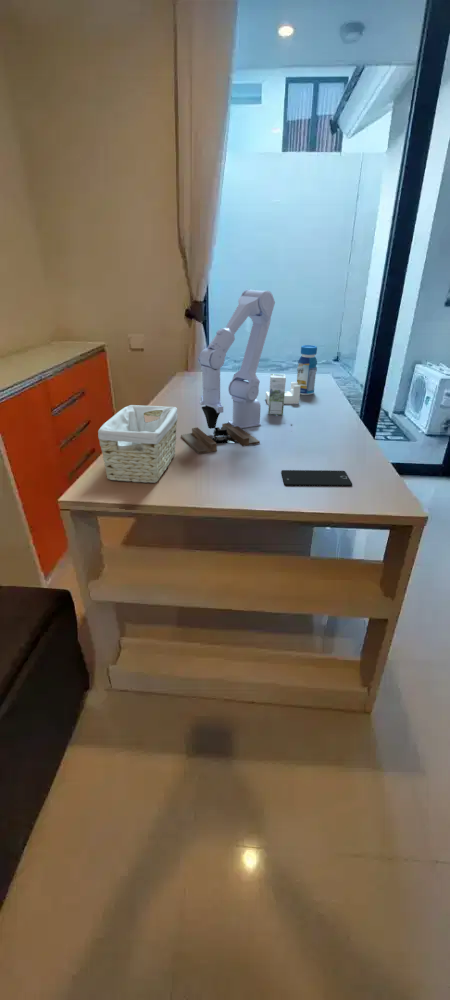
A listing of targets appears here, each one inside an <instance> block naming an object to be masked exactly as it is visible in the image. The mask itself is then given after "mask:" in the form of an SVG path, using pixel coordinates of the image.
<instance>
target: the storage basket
mask: <svg viewBox="0 0 450 1000" xmlns="http://www.w3.org/2000/svg"><path fill="white" fill-rule="evenodd" d="M145 416H146V417H149V416H151V417H159V418H158V419H154V420H151V421H146V419H145ZM178 419H179V418H178V408H177V407H176V406H161V405H138V404H137V405H136V404H130V405H127V406H125V407H123V408H122V409H120V410H118V411H117V412H116V413H115V414H114V415H113V416H112V417H110V418H109V419H108V420H107V421H106V422H103V424H102V425H101V426H100V428H99V429H98V431H97V433H98V435H97V436H98V437H97V438H98V440H99V446H100V450H101V454H102V458H103V462H104V468H105V473H106V477H105V478H107V479H108V480H111V481H117V482H118V481H119V482H133V483H143V484H144V483H145V484H146V483H153V484H154V483H157V482H158V481H159V480H160V478H161V477H162V475H163V473H164V472H165V471H166V470H167V468H168V467H169V465H170V463H171V462H172V460H173V458H174V456H175V454H176V444H177V423H178Z"/></svg>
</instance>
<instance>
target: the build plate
mask: <svg viewBox="0 0 450 1000" xmlns="http://www.w3.org/2000/svg"><path fill="white" fill-rule="evenodd" d="M212 434H213V437H210V438H211V439H212V440H213V441H215V442H216V443H217V445H219V444H235V443H236V444H237V441H235V440H234V439H233V438H231V437H230V436H229V435H228V432H227V429H226V427H222V426H221V427H215V428H214V430H213V432H212Z"/></svg>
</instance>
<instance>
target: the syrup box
mask: <svg viewBox="0 0 450 1000" xmlns="http://www.w3.org/2000/svg"><path fill="white" fill-rule="evenodd" d="M269 377H270V378H269V404H268V408H267V409H268V410H267V411H268V412H267V413H268V415H271V416H274V415H275V416H277V415H278V416H284V408H285V405H284V395H285V391H286V381H287V379H286V378H287V377H286V374H285V373H270V375H269Z"/></svg>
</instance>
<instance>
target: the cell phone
mask: <svg viewBox="0 0 450 1000" xmlns="http://www.w3.org/2000/svg"><path fill="white" fill-rule="evenodd" d="M280 473H281V478H282V481H283V486H285V487H341V488H343V487H351V488H352V487H353V482H352V481H351V478H350V476H349V475H348V474H347V472H346V470H326V469H325V470H322V469H321V470H314V469H313V470H309V469H305V470H303V469H302V470H301V469H297V470H296V469H286V470H285V469H281V471H280Z"/></svg>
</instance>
